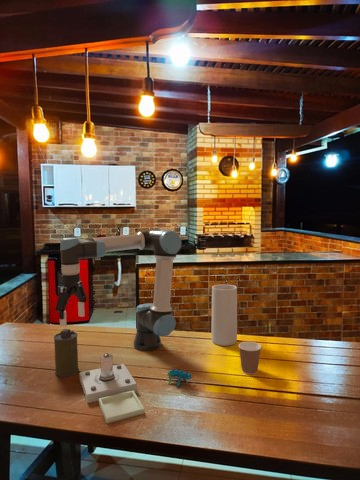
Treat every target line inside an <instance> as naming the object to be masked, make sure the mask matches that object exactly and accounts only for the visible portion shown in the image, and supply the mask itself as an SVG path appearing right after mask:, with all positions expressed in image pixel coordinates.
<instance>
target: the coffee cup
mask: <svg viewBox="0 0 360 480" xmlns="http://www.w3.org/2000/svg"><path fill="white" fill-rule="evenodd" d="M238 349H239V358H240V368H241V371H242V373H244V374H247V375H255V374H257V372H258V369H259V363H260V355H261V349H262V345H261V344H259V343H257V342H254V341H243V342H240V343H239V344H238Z"/></svg>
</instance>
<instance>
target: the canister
mask: <svg viewBox="0 0 360 480" xmlns="http://www.w3.org/2000/svg"><path fill="white" fill-rule="evenodd" d="M53 340H54V364H55V372H54V374H55V375H56V376H57V377H61V378H66V376H67V377H71V376H73V375H76V374H77V373H78V372H79V370H80V369H79V356H78V355H79V354H78V353H79V351H78V333H77V332H75V331H74V330H71V329H69V328H64V329H62V330H61V331H60V332H59V333H58V332H57V333H56V334H55V335H54V336H53Z"/></svg>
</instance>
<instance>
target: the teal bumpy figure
mask: <svg viewBox="0 0 360 480" xmlns="http://www.w3.org/2000/svg"><path fill="white" fill-rule="evenodd" d="M166 376H167V377H168V384H169V385H171V382H172V380H177V384H176V386H177V387H178V388H179V387H180V386H181V380H184V381H186V380H188V381H189V380H190V379H191V380H192V378H193V376H192V374H191V373H189V372H188V371H185V372H184V370H183V369H180V370H179V369H175V370H174V369H171V370H169V371H168V372H167V373H166Z"/></svg>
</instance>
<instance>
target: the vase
mask: <svg viewBox="0 0 360 480" xmlns="http://www.w3.org/2000/svg"><path fill="white" fill-rule="evenodd" d="M210 333H211V334H210V335H211V342H212V343H213V344H215V345H217V346H221V347H227V346H234V345H235V344H236V343H237V340H238V287H237V285H234V284H224V283H223V284H215V285H212V286H211V332H210Z"/></svg>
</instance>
